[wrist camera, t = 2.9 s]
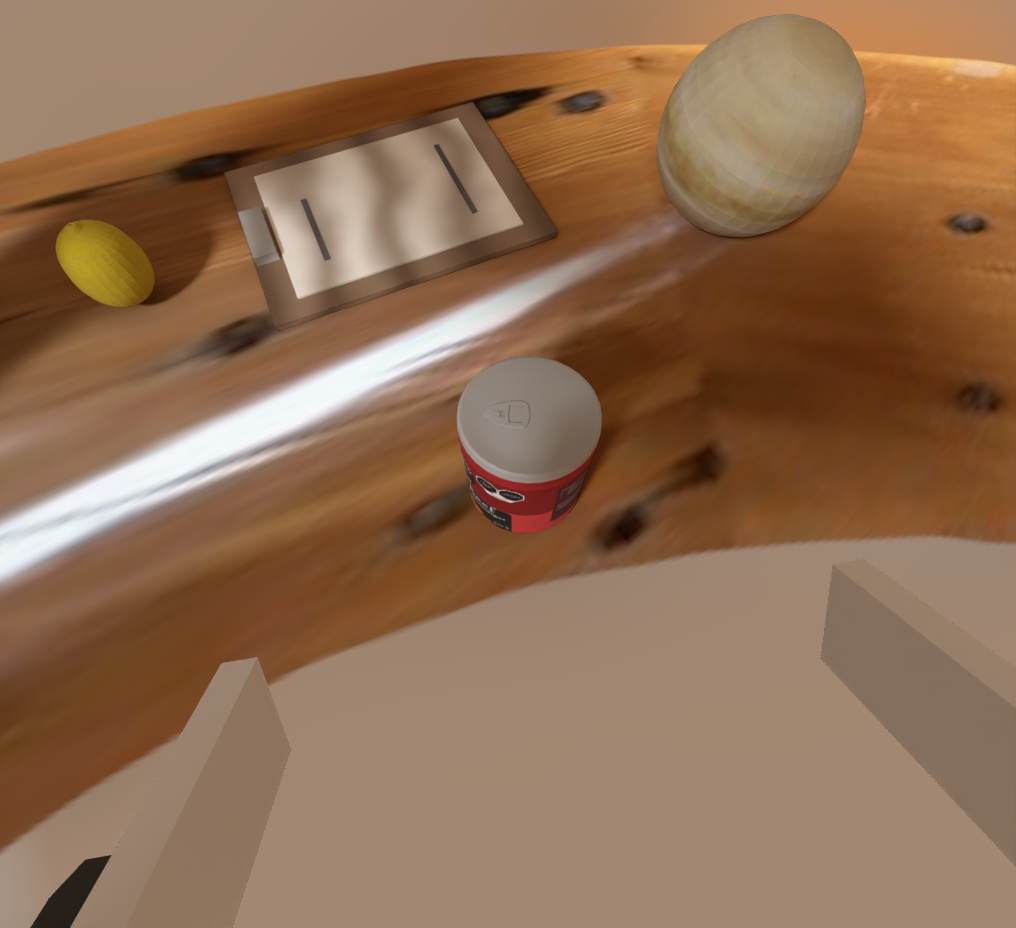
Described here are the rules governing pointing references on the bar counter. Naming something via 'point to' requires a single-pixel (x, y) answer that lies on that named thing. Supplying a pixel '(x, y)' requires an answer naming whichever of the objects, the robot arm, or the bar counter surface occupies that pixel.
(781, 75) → the decorative ball
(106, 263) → the lemon
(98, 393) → the bar counter surface
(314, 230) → the clipboard
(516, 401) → the canned food
